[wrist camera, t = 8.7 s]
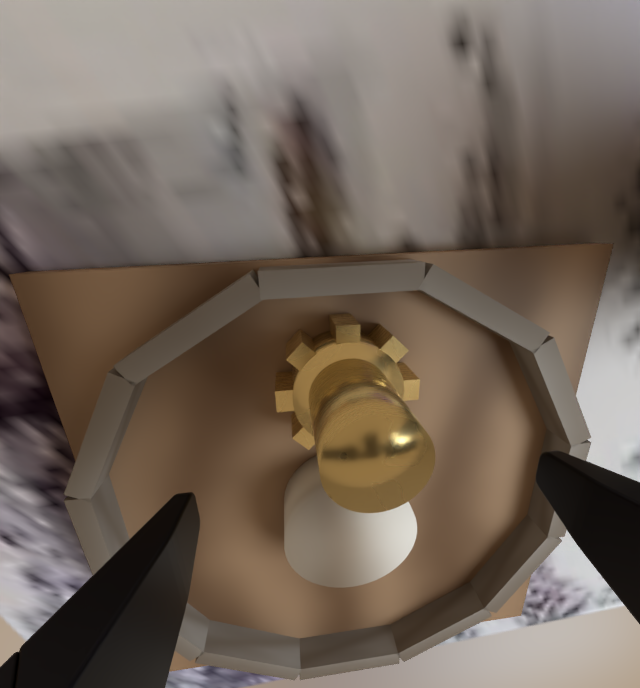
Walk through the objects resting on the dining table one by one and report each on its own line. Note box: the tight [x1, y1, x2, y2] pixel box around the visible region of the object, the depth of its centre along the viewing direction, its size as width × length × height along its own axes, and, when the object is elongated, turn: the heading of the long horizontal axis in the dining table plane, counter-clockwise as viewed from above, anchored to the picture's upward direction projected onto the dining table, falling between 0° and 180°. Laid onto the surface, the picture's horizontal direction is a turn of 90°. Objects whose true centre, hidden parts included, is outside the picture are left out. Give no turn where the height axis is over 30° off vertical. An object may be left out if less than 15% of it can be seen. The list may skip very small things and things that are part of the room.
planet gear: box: [275, 313, 435, 513], centre depth 11 cm, size 6×6×6 cm
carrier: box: [9, 243, 613, 680], centre depth 16 cm, size 24×24×4 cm
